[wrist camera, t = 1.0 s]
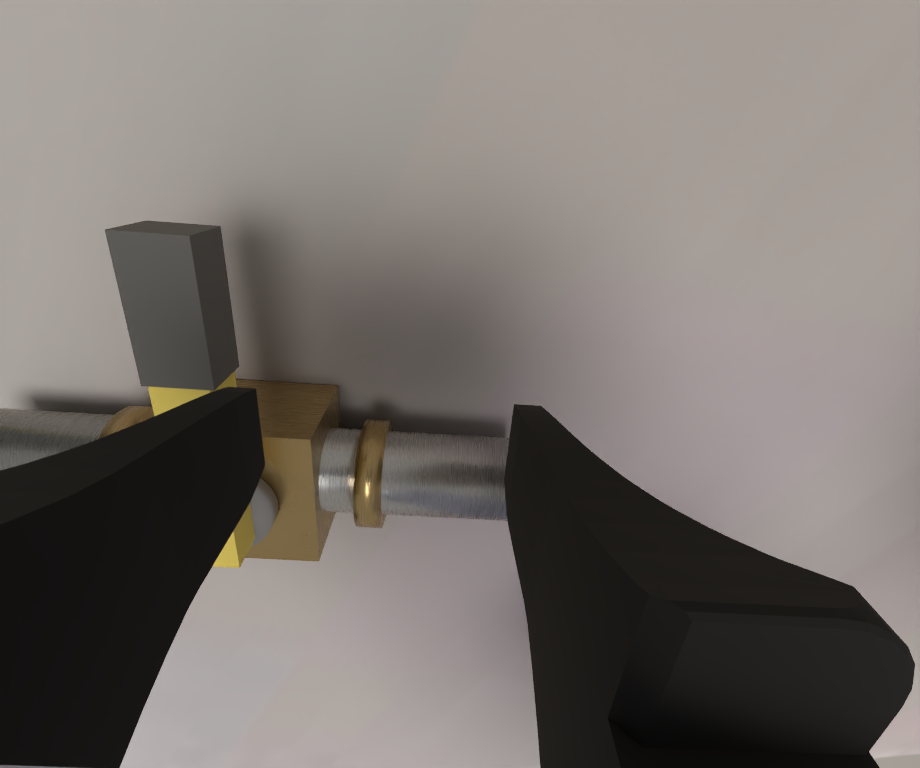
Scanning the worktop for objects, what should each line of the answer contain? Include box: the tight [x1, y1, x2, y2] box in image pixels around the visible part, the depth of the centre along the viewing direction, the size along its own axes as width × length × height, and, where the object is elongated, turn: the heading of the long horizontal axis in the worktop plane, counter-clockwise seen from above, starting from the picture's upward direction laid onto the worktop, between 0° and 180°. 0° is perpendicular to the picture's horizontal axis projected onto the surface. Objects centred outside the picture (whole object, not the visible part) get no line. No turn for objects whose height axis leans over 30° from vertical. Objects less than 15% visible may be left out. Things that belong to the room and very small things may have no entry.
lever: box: [105, 221, 278, 568], centre depth 16 cm, size 12×3×2 cm, turn 176°
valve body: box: [0, 379, 510, 561], centre depth 21 cm, size 22×6×5 cm, turn 86°
